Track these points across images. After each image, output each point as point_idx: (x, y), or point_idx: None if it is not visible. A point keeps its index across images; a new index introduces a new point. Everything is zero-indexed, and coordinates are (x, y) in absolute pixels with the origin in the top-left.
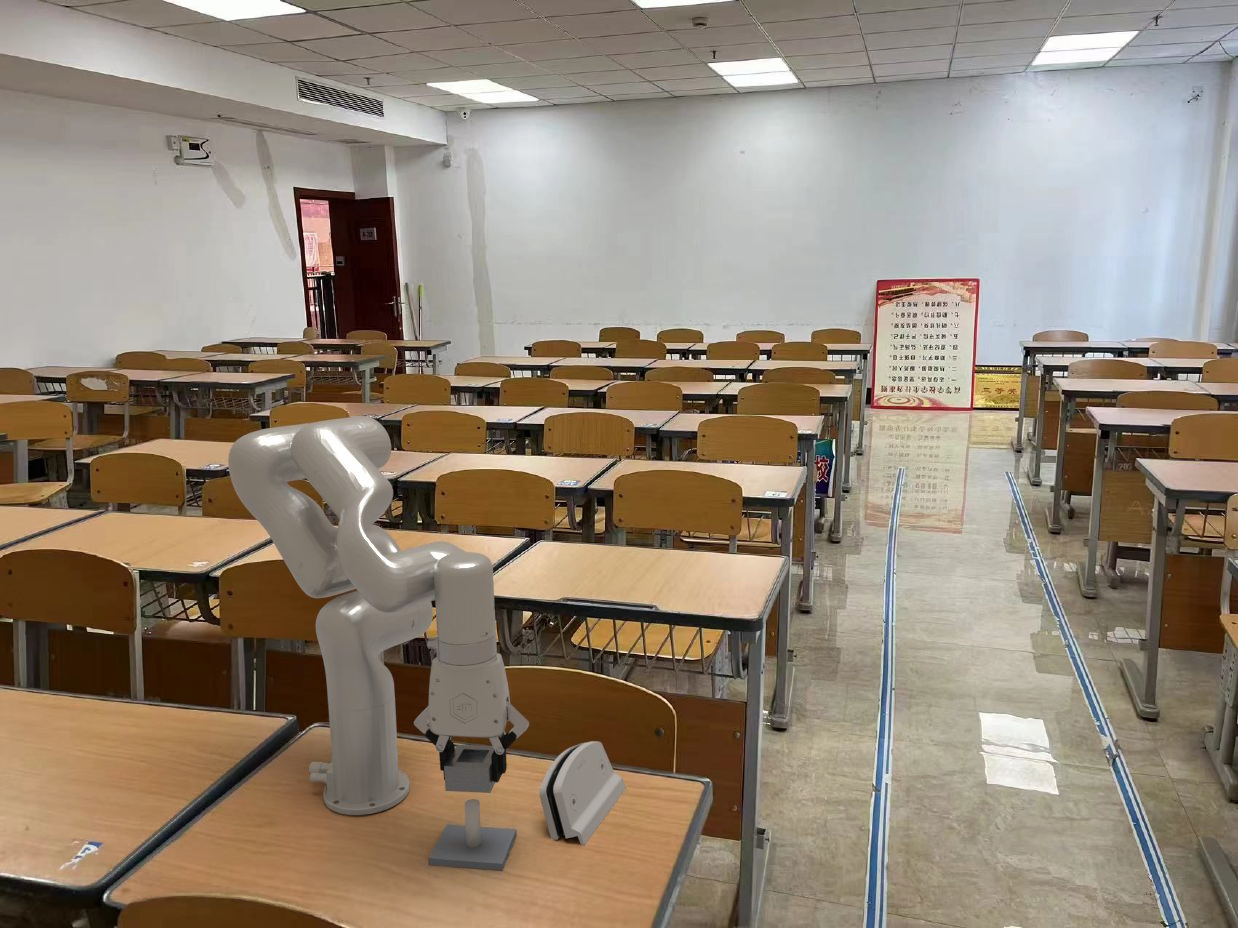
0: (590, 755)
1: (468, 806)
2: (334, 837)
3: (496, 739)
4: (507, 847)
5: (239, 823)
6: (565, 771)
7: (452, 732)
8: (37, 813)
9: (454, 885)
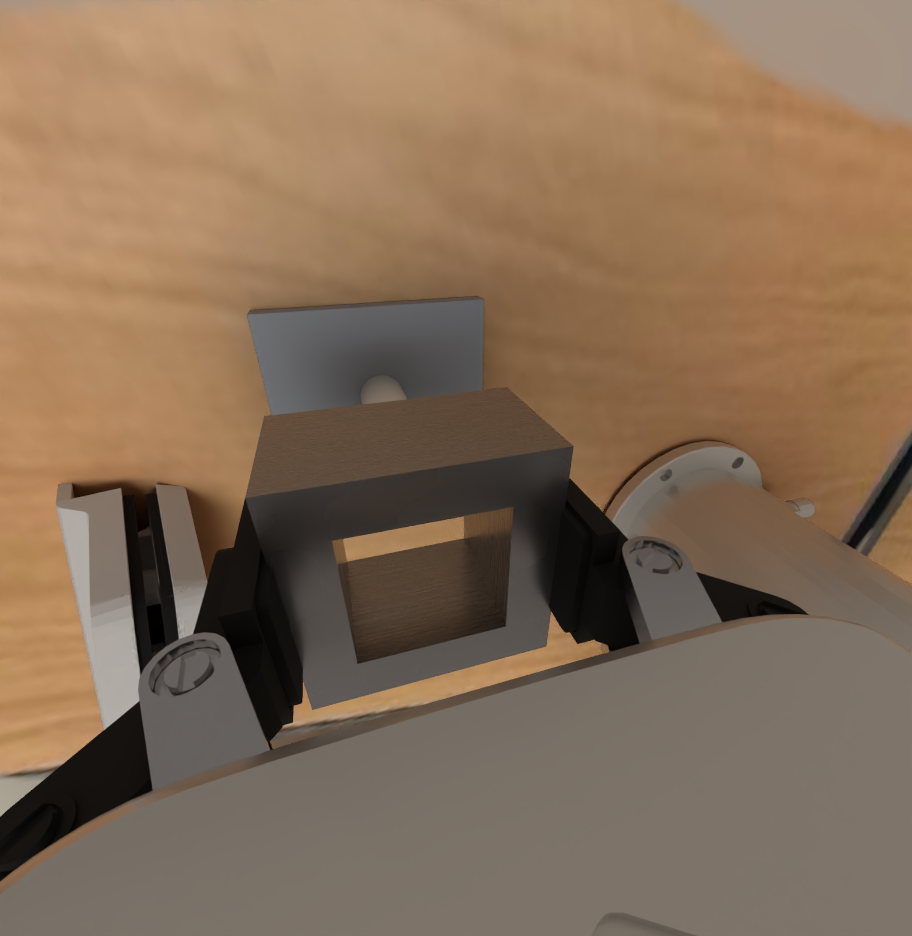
0: None
1: None
2: (718, 361)
3: (186, 766)
4: (272, 399)
5: (893, 364)
6: (111, 694)
7: (680, 681)
8: None
9: (367, 205)
